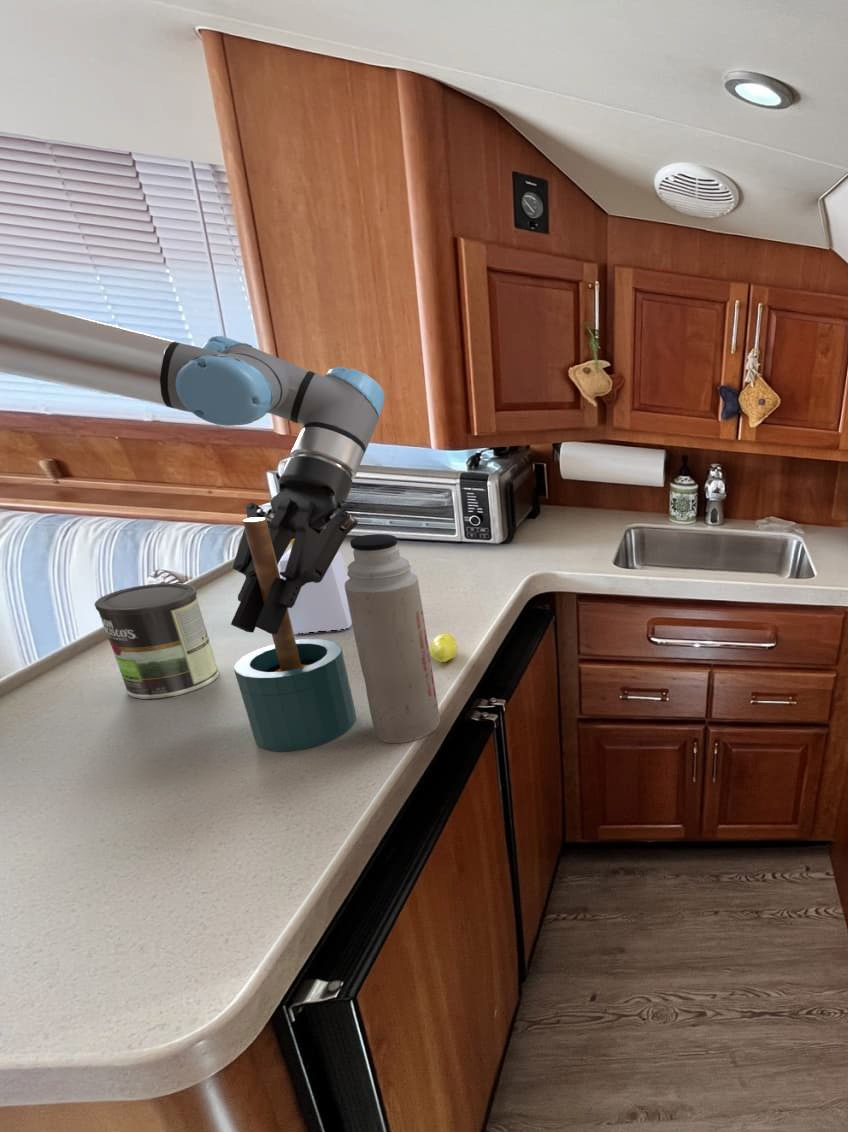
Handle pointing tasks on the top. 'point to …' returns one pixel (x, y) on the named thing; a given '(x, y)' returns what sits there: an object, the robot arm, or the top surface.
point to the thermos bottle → (391, 640)
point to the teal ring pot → (296, 696)
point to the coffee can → (158, 639)
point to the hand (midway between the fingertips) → (254, 629)
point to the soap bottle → (321, 600)
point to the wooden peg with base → (266, 576)
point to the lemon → (443, 648)
